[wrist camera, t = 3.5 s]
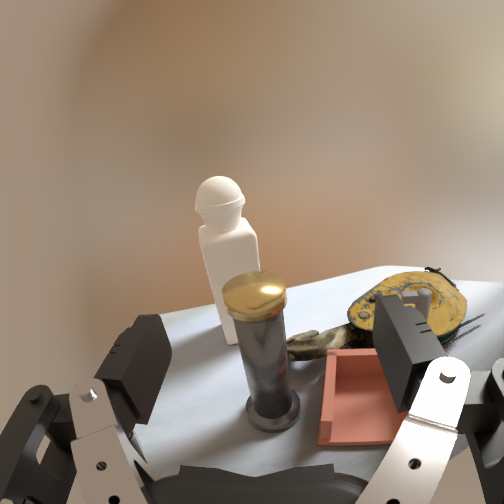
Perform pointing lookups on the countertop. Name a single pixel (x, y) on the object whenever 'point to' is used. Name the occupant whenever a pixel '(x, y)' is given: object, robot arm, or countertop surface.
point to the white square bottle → (225, 241)
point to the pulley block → (362, 311)
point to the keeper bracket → (362, 393)
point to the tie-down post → (263, 348)
